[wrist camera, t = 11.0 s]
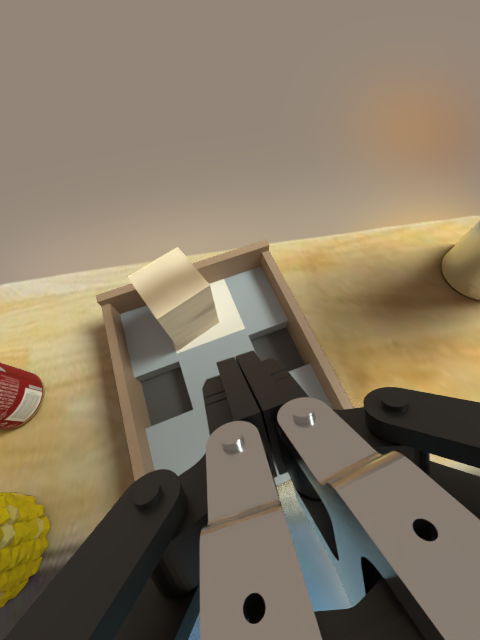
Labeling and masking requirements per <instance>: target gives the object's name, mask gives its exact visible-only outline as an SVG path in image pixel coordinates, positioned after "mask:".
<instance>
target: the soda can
mask: <svg viewBox="0 0 480 640" xmlns="http://www.w3.org/2000/svg"><path fill="white" fill-rule="evenodd" d="M43 398H44V385H43V382H42V380H41V379H40V378H39V377H38V376H37V375H35V374H33V373H30V372H27V371H24V370H21V369H18V368H15V367H12V366H9V365H5V364H2V363H0V429H12V428H16V427H18V426H21V425H22V424H24V423H26V422H27V421H28V420H30V419H31V418H32V417H33V416H34V415H35V414H36V412H37V411H38V409H39V408H40V406H41V404H42V401H43Z"/></svg>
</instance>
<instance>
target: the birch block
mask: <svg viewBox="0 0 480 640" xmlns="http://www.w3.org/2000/svg"><path fill="white" fill-rule="evenodd" d="M128 279H129V280H130V282H131V283H132V284H133V286H134V287H135V289H136V290H137V292H138V293H139V294H140V296H141V297H142V299H143V300H144V302H145V303H146V305H147V306H148V307H149V309H150V310H151V312H152V313H153V315H154V316H155V317H156V319H157V320H158V322H159V323H160V324H161V326H162V327H163V328H164V330H165V331H166V332H167V334H168V335H169V336H170V338H171V339H172V340H173V342H174V343H175V345H176V346H177V347H178V349H179V350H180V349H182V348H183V347H185V346H186V345H188V344H189V343H190V342H192V341H193V340H195V339H196V338H198V337H199V336H200V335H202V334H203V333H205V332H206V331H208V330H209V329H211V328H212V327H213V326H215V325H216V324H218V323H219V319H218V315H217V311H216V307H215V303H214V299H213V295H212V291H211V287H210V284H209V283H208V282H207V281H206V280H205V279H204V277H203V276H202V275H201V274H200V273H199V271H198V270H197V269H196V268H195V267H194V266H193V264H192V263H191V262H190V261H189V260H188V258H187V257H186V256H185V255H184V254H183V253H182V251H181V250H180V249H179V248H178V247H177V248H175V249H173V250H172V251H170V252H168V253H167V254H165V255H163V256H162V257H160V258H158V259H156V260H155V261H153V262H151V263H150V264H148V265H146V266H144V267H143V268H141V269H139V270H138V271H136V272H134V273H133V274H131V275H129V276H128Z"/></svg>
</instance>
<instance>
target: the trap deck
mask: <svg viewBox="0 0 480 640" xmlns="http://www.w3.org/2000/svg"><path fill="white" fill-rule="evenodd" d="M193 266H194V267H195V268H196V269H197V270H198V271H199V273H200V274H201V275H202V276H203V277H204V279H205V280H206V281H207V282H208V283H209V284H210V287H211V291H212V295H213V299H214V303H215V307H216V311H217V315H218V319H219V323H218V324H216V325H215V326H213V327H212V328H211V329H209V330H208V331H206V332H205V333H203V334H202V335H200V336H199V337H198V338H196V339H195V340H193V341H192V342H190V343H189V344H188V345H186V346H185V347H183V348H182V349H180V350H179V349H178V347H177V346H176V345H175V343H174V342H173V340H172V339H171V338H170V336H169V335H168V334H167V332H166V331H165V330H164V328H163V327H162V326H161V324H160V323H159V322H158V320H157V319H156V317H155V316H154V315H153V313H152V312H151V310H150V309H149V307H148V306H147V305H146V303H145V302H144V300H143V299H142V297H141V296H140V294H139V293H138V292H137V290H136V289H135V287H134V286H133V284H129V285H126V286H123V287H120V288H117V289H114V290H111V291H108V292H105V293H102V294H99V295H96V299H97V303H99V304H100V305H101V307H102V312H103V317H104V323H105V328H106V333H107V339H108V344H109V349H110V354H111V360H112V365H113V370H114V375H115V381H116V386H117V391H118V396H119V402H120V407H121V412H122V418H123V423H124V428H125V433H126V439H127V444H128V449H129V454H130V460H131V465H132V470H133V476H134V481H136V480H138V479H139V478H140V477H142V476H144V475H145V474H147V473H149V472H152V471H155V470H159V469H167V470H171V471H173V472H174V473H176V475H177V476H179V475H181V474H182V473H183V472H185V471H186V470H188V469H189V468H191V467H192V466H193V465H195V464H196V463H197V462H198V461H199V460H200V459H201V458H202V457H203V456H204V454H205V453H206V444H207V441H208V439H209V437H210V434H209V428H208V422H207V416H206V410H205V404H204V398H203V392H202V388H203V385H204V383H205V381H206V379H209V378H212V377H215V376H218V375H220V374H219V370H218V367H217V364H216V362H219V361H222V360H225V359H228V358H231V357H235V356H237V355H240V354H243V353H246V352H249V351H252V350H254V352H255V353H256V354H257V356H258V357H259V359H260V360H261V361H262V360H265V359H268V358H272V359H274V360H277V361H279V362H281V363H282V364H283V366H284V367H285V368H286V370H287V371H288V372H289V373H290V374H291V376H292V377H293V378H294V379H295V380H296V381H297V383H298V384H299V385H300V386H301V388H302V389H303V390H304V391H305V392H306V394H307V395H308V396H309V397H310V398H315V399H318V400H321V401H323V402H324V403H326V404H327V405H328V406H329V407H330V408H331V409H335V410H343V409H353V408H354V407H353V405H352V403H351V402H350V400H349V398H348V396H347V394H346V392H345V390H344V389H343V387H342V385H341V383H340V381H339V379H338V377H337V376H336V374H335V372H334V370H333V368H332V366H331V365H330V363H329V361H328V359H327V357H326V355H325V353H324V352H323V350H322V348H321V346H320V344H319V342H318V340H317V339H316V337H315V335H314V333H313V331H312V329H311V327H310V326H309V324H308V322H307V320H306V318H305V316H304V315H303V313H302V311H301V309H300V307H299V305H298V303H297V302H296V300H295V298H294V296H293V294H292V292H291V290H290V289H289V287H288V285H287V283H286V281H285V279H284V277H283V276H282V274H281V272H280V270H279V268H278V266H277V265H276V263H275V261H274V259H273V257H272V255H271V253H270V252H269V244H268V242H267V240H263V241H260V242H257V243H254V244H251V245H248V246H245V247H242V248H239V249H236V250H232V251H229V252H226V253H223V254H220V255H217V256H214V257H211V258H208V259H205V260H202V261H199V262H196V263H193ZM235 359H236V357H235ZM274 464H275V463H274ZM275 468H276V465H275ZM276 472H277V477H275V478H274V479H275V483H276V486H277V485H280V484H282V483H284V482H286V481H288V480H291V478H290V476H289V474H288V472H287V473H284V474H282V475H279V472H278V470H277V468H276Z"/></svg>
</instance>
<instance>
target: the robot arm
mask: <svg viewBox="0 0 480 640" xmlns="http://www.w3.org/2000/svg"><path fill="white" fill-rule="evenodd" d="M441 267H442V272H443V275H444V277H445V279H446V280H447V282H448V283H449V284H450V285H451V286H452V287H453V288H454V289H456V290H457V291H458V292H460V293H462V294H463V295H465V296H468V297H470V298H473V299H477V300H480V221H479V222H478V223H477V224H476V225H475V226H474V227H473V228H472V229H471V230H470V231H469V232H468V233H467V234H466V235H465V236H463V237H462V238H461V239H460V240H459V241H458V242H457V243H456V245H455V246H454V247H453V248H452V249H451V250H450V251H449V252H448V253H447V254H446V255H445V256H444V258H443V259H442V264H441ZM235 357H236V359H235ZM235 357H231V358H228V359H225V360H222V361H219V362H216V364H217V367H218V370H219V374H220V375H218V376H215V377H212V378H209V379H206V381H205V383H204V385H203V388H202V392H203V398H204V404H205V410H206V416H207V422H208V428H209V434H210V437H209V439H208V441H207V444H206V453H205V454H204V456H203V457H202V458H201V459H200V460H199V461H198V462H197V463H196V464H195V465H193V466H192V467H191V468H189V469H188V470H186V471H185V472H183V473H182V474H181V475H179V476H177V475H176V473H174V472H173V471H171V470H167V469H159V470H155V471H152V472H149V473H147V474H145V475H144V476H142V477H140V478H139V479H138V480H136V481H135V482H134V483H133V484H132V485H131V486H130V487H129V488H128V489H127V490H126V492H125V493H124V494H123V495H122V496H121V498H120V499H119V500H118V501H117V503H116V504H115V505H114V506H113V507H112V509H111V510H110V511H109V512H108V514H107V515H106V516H105V517H104V518H103V520H102V521H101V522H100V523H99V524H98V526H97V527H96V528H95V529H94V531H93V532H92V533H91V534H90V535H89V537H88V538H87V539H86V540H85V542H84V543H83V544H82V545H81V546H80V548H79V549H78V550H77V551H76V552H75V554H74V555H73V556H72V557H71V559H70V560H69V561H68V562H67V563H66V565H65V566H64V567H63V568H62V570H61V571H60V572H59V573H58V574H57V576H56V577H55V578H54V579H53V580H52V582H51V583H50V584H49V585H48V587H47V588H46V589H45V590H44V591H43V593H42V594H41V595H40V596H39V597H38V599H37V600H36V601H35V602H34V604H33V605H32V606H31V607H30V608H29V610H28V611H27V612H26V613H25V615H24V616H23V617H22V618H21V619H20V621H19V622H18V623H17V624H16V625H15V627H14V628H13V629H12V630H11V632H10V633H9V634H8V635H7V636H6V638H5V639H4V640H188V638H189V636H190V634H191V631H192V629H193V626H194V624H195V622H196V619H197V617H198V614H199V612H200V640H480V477H479V476H476V475H473V474H469V473H466V472H463V471H460V470H457V469H454V468H451V467H447V466H444V465H441V464H438V463H435V462H432V461H429V453H431V454H434V455H437V456H441V457H444V458H447V459H450V460H454V461H457V462H460V463H464V464H467V465H470V466H474V467H477V468H480V403H479V402H474V401H468V400H463V399H457V398H452V397H446V396H441V395H435V394H430V393H425V392H419V391H414V390H408V389H403V388H396V387H385V388H379V389H376V390H373V391H371V392H370V393H369V394H367V395H366V397H365V399H364V407H362V408H353V409H343V410H335V409H331V408H330V407H329V406H328V405H327V404H326V403H324V402H323V401H321V400H318V399H315V398H310V397H309V396H308V395H307V394H306V392H305V391H304V390H303V389H302V388H301V386H300V385H299V384H298V383H297V381H296V380H295V379H294V378H293V377H292V376H291V374H290V373H289V372H288V371H287V370H286V368H285V367H284V366H283V364H282V363H281V362H279V361H277V360H274V359H272V358H268V359H265V360H262V361H261V360H260V359H259V357H258V356H257V354H256V353H255V352H254V350H252V351H249V352H246V353H243V354H240V355H237V356H235ZM274 463H275V464H274ZM275 465H276V468H277V470H278V472H279V475H282V474H284V473H287V472H288V474H289V476H290V478H291V480H292V482H293V486H294V490H295V494H296V497H297V499H298V501H299V503H300V505H301V507H302V509H303V510H304V512H305V514H306V516H307V518H308V519H309V521H310V523H311V525H312V527H313V529H314V530H315V532H316V534H317V536H318V538H319V539H320V541H321V543H322V545H323V547H324V548H325V550H326V552H327V554H328V556H329V557H330V559H331V561H332V563H333V565H334V567H335V569H336V570H337V573H338V575H339V577H340V579H341V581H342V584H343V587H344V589H345V592H346V594H347V597H348V599H349V602H350V604H351V606H352V607H351V608H348V609H341V610H329V611H317V612H314V610H313V607H312V604H311V601H310V597H309V594H308V591H307V587H306V584H305V581H304V577H303V574H302V571H301V568H300V564H299V561H298V558H297V554H296V551H295V548H294V545H293V541H292V538H291V535H290V531H289V528H288V525H287V522H286V518H285V515H284V512H283V509H282V505H281V502H280V501H279V494H278V490H277V487H276V483H275V479H274V478H275V477H277V472H276V468H275Z"/></svg>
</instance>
